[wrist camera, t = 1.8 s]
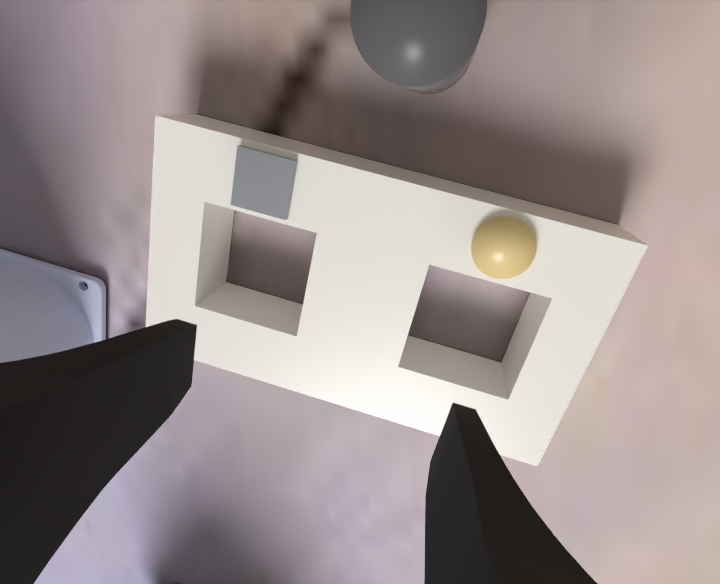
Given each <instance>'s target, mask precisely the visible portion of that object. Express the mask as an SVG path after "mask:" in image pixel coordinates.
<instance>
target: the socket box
mask: <svg viewBox="0 0 720 584" xmlns="http://www.w3.org/2000/svg"><path fill="white" fill-rule="evenodd" d="M235 210H236V211H240V212H243V213H247V214H250V215H254V216H258V217H261V218H265V219H268V220H272V221H276V222H279V223H283V224H286V225H290V226H293V227H297V228H301V229H304V230H308V231H311V232H315V233H317V235H316V241H315V246H314V251H313V256H312V261H311V266H310V271H309V276H308V281H307V286H306V291H305V297H304V302H303V304H300V303H296V302H293V301H289V300H286V299H283V298H279V297H276V296H272V295H269V294H266V293H262V292H259V291H255V290H252V289H248V288H245V287H242V286H238V285H235V284H231V283H228V282H226V279H227V270H228V262H229V253H230V245H231V237H232V228H233V220H234V212H235ZM647 247H648V245H646V244H645V243H644V242H642V241H641V240H639V239H638V238H637V237H635V236H634V235H632V234H631V233H630V232H628V231H627V230H625V229H624V228H622V227H621V226H620V225H617V224H613V223H609V222H605V221H601V220H598V219H594V218H590V217H586V216H582V215H578V214H575V213H571V212H567V211H563V210H559V209H556V208H552V207H548V206H544V205H540V204H537V203H533V202H529V201H525V200H521V199H517V198H514V197H510V196H506V195H502V194H498V193H495V192H491V191H487V190H483V189H479V188H475V187H472V186H468V185H464V184H460V183H456V182H453V181H449V180H445V179H441V178H437V177H434V176H430V175H426V174H422V173H418V172H414V171H411V170H407V169H403V168H399V167H395V166H392V165H388V164H384V163H380V162H376V161H373V160H369V159H365V158H361V157H357V156H353V155H350V154H346V153H342V152H338V151H334V150H331V149H327V148H323V147H319V146H315V145H311V144H308V143H304V142H300V141H296V140H292V139H289V138H285V137H281V136H277V135H273V134H270V133H266V132H262V131H258V130H254V129H250V128H247V127H243V126H239V125H235V124H231V123H228V122H224V121H220V120H216V119H212V118H208V117H205V116H201V115H197V114H189V115H155V133H154V155H153V177H152V200H151V222H150V244H149V266H148V288H147V310H146V327H148V326H151V325H155V324H158V323H162V322H165V321H169V320H173V319H179V320H182V321H186V322H189V323H192V324H196V325H197V331H196V342H195V352H194V360H196V361H199V362H202V363H205V364H209V365H212V366H215V367H218V368H222V369H225V370H228V371H231V372H234V373H238V374H241V375H244V376H247V377H251V378H254V379H257V380H260V381H263V382H267V383H270V384H273V385H276V386H280V387H283V388H286V389H289V390H293V391H296V392H299V393H302V394H305V395H309V396H312V397H315V398H318V399H322V400H325V401H328V402H331V403H334V404H338V405H341V406H344V407H347V408H351V409H354V410H357V411H360V412H364V413H367V414H370V415H373V416H376V417H380V418H383V419H386V420H389V421H393V422H396V423H399V424H402V425H405V426H409V427H412V428H415V429H418V430H422V431H425V432H428V433H431V434H435V435H438V436H440V435H441V432H442V430H443V427H444V424H445V422H446V419H447V416H448V414H449V411H450V408H451V406H452V403H456V404H460V405H463V406H466V407H470V408H473V409H476V411H477V413H478V415H479V417H480V419H481V420H482V422H483V424H484V426H485V428H486V430H487V432H488V434H489V436H490V438H491V440H492V442H493V444H494V446H495V447H496V449H497V451H498V453H499V455H502V456H505V457H509V458H512V459H515V460H518V461H522V462H525V463H528V464H531V465H535V466H538V464H539V462H540V460H541V458H542V456H543V454H544V452H545V450H546V448H547V446H548V444H549V442H550V440H551V438H552V436H553V434H554V432H555V430H556V428H557V426H558V424H559V422H560V420H561V418H562V416H563V414H564V412H565V410H566V408H567V406H568V404H569V402H570V400H571V398H572V396H573V394H574V392H575V390H576V388H577V386H578V384H579V382H580V380H581V378H582V376H583V374H584V372H585V370H586V368H587V366H588V364H589V362H590V360H591V358H592V356H593V354H594V352H595V351H596V349H597V347H598V345H599V343H600V341H601V339H602V337H603V335H604V333H605V331H606V329H607V327H608V325H609V323H610V321H611V319H612V317H613V315H614V313H615V311H616V309H617V307H618V305H619V303H620V301H621V299H622V297H623V295H624V293H625V291H626V289H627V287H628V285H629V283H630V281H631V279H632V277H633V275H634V273H635V271H636V269H637V267H638V265H639V263H640V261H641V259H642V257H643V255H644V253H645V251H646V249H647ZM429 264H430V265H433V266H437V267H441V268H444V269H448V270H451V271H455V272H459V273H462V274H466V275H469V276H473V277H476V278H480V279H484V280H487V281H491V282H494V283H498V284H502V285H505V286H509V287H512V288H516V289H520V290H523V291H527V292H530V294H529V296H528V299H527V301H526V304H525V306H524V309H523V311H522V313H521V316H520V318H519V321H518V323H517V326H516V328H515V330H514V333H513V335H512V338H511V340H510V343H509V345H508V347H507V350H506V352H505V355H504V357H503V360H502V362H498V361H494V360H491V359H487V358H484V357H481V356H477V355H474V354H470V353H467V352H464V351H460V350H457V349H453V348H450V347H446V346H443V345H440V344H436V343H433V342H429V341H426V340H423V339H419V338H416V337H412V336H409V335H408V333H409V329H410V326H411V323H412V320H413V316H414V313H415V310H416V307H417V303H418V300H419V297H420V294H421V290H422V287H423V284H424V281H425V277H426V274H427V271H428V267H429Z"/></svg>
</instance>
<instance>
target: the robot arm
mask: <svg viewBox="0 0 720 584" xmlns="http://www.w3.org/2000/svg"><path fill="white" fill-rule="evenodd" d="M84 282H85V283H86V284H87V286H88V287H86V286H85V284H84ZM196 331H197V325H196V324H192V323H189V322H186V321H182V320H179V319H173V320H169V321H165V322H162V323H158V324H155V325H151V326H148V327H145V328H142V329H139V330H135V331H132V332H129V333H126V334H122V335H119V336H116V337H113V338H109V339H106V287H105V284H104V282H103V281H102V280H101V279H99V278H97V277H93V276H90V275H87V274H83V273H80V272H76V271H73V270H70V269H66V268H63V267H60V266H56V265H53V264H50V263H46V262H43V261H40V260H36V259H33V258H30V257H26V256H23V255H20V254H16V253H13V252H10V251H6V250H3V249H0V584H33V583H34V582H35V581H36V579H37V578H38V576H39V575H40V573H41V572H42V570H43V569H44V567H45V566H46V565H47V563H48V562H49V560H50V559H51V557H52V556H53V555H54V553H55V552H56V551H57V549H58V548H59V546H60V545H61V544H62V542H63V541H64V540H65V538H66V537H67V535H68V534H69V533H70V531H71V530H72V529H73V527H74V526H75V524H76V523H77V522H78V521H79V519H80V518H81V517H82V515H83V514H84V513H85V511H86V510H87V509H88V507H89V506H90V505H91V504H92V502H93V501H94V500H95V498H96V497H97V496H98V494H99V493H100V492H101V491H102V489H103V488H104V487H105V486H106V485H107V484H108V482H109V481H110V480H111V479H112V478H113V477H114V476H115V474H116V473H117V472H118V471H119V470H120V469H121V468H122V467H123V466H124V465H125V464H126V463H127V462H128V461H129V460H130V458H131V457H132V456H133V455H134V454H135V453H136V452H137V451H138V450H139V449H140V448H141V447H142V446H143V445H144V444H145V442H146V441H147V440H148V439H149V438H150V437H151V436H152V435H153V434H154V433H155V432H156V431H157V430H158V428H159V427H160V426H161V425H162V424H163V423H164V422H165V421H166V420H167V419H168V417H169V416H170V415H171V414H172V413H173V411H174V410H175V409H176V407H177V406H178V404H179V403H180V402H181V400H182V399H183V397H184V396H185V394H186V393H187V391H188V390H189V388H190V387H191V383H192V373H193V363H194V352H195V342H196ZM425 584H597V583H596V582H595V581H594V580H593V579H592V578H591V577H590V576H589V575H588V574H587V572H586V571H585V570H584V569H583V568H582V567H581V566H580V565H579V564H578V562H577V561H576V560H575V559H574V558H573V557H572V556H571V555H570V553H569V552H568V551H567V550H566V549H565V548H564V547H563V545H562V544H561V543H560V542H559V541H558V539H557V538H556V537H555V536H554V535H553V533H552V532H551V531H550V529H549V528H548V527H547V526H546V524H545V523H544V522H543V520H542V519H541V518H540V516H539V515H538V514H537V513H536V511H535V510H534V508H533V507H532V506H531V504H530V503H529V501H528V500H527V498H526V497H525V495H524V494H523V492H522V491H521V489H520V488H519V486H518V485H517V483H516V482H515V480H514V479H513V477H512V475H511V474H510V472H509V470H508V469H507V467H506V465H505V463H504V462H503V460H502V458H501V456H500V455H499V453H498V451H497V449H496V447H495V446H494V444H493V442H492V440H491V438H490V436H489V434H488V432H487V430H486V428H485V426H484V424H483V422H482V420H481V419H480V417H479V415H478V413H477V411H476V409H473V408H470V407H466V406H463V405H460V404H456V403H452V406H451V408H450V411H449V414H448V416H447V419H446V422H445V424H444V427H443V430H442V432H441V435H440V438H439V440H438V443H437V445H436V448H435V451H434V453H433V456H432V459H431V462H430V469H429V476H428V483H427V491H426V512H425Z"/></svg>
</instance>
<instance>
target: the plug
mask: <svg viewBox="0 0 720 584" xmlns="http://www.w3.org/2000/svg"><path fill="white" fill-rule="evenodd" d="M486 9H487V0H352V1H351V27H352V32H353V37H354V40H355V43H356V45H357V47H358V50H359V52H360V54H361V55H362V57H363V58H364V60H365V61H366V63H367V64H368V65H369V66H370V67H371V68H372V69H373V70H374V71H375V72H376V73H377V74H379V75H380V76H382V77H383V78H385V79H387V80H389V81H391V82H393V83H396V84H398V85H400V86H403V87H405V88H407V89H410V90H412V91H415V92H418V93H422V94H433V93H438V92H441V91H444V90H446V89H448V88H450V87H451V86H453V85H454V84H455V83H456V82H457V81H458V80H460V78H461V77H462V76H463V75H464V73H465V72H466V70H467V68H468V66H469V64H470V62H471V59H472V57H473V54H474V51H475V49H476V46H477V43H478V41H479V38H480V35H481V32H482V29H483V26H484V22H485V17H486Z"/></svg>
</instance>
